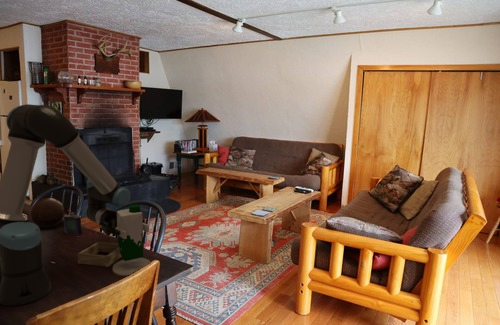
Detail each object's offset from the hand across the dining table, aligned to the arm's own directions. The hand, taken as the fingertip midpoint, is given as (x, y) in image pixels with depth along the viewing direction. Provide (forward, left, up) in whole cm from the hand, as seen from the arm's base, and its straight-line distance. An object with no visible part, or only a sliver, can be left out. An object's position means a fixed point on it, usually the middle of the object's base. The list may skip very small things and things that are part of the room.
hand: (137, 231), depth 134 cm
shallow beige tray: (+7, +20, -16) cm, 26 cm away
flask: (+29, +51, -16) cm, 61 cm away
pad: (+2, +4, -16) cm, 16 cm away
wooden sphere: (+34, +70, -16) cm, 80 cm away
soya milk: (+2, +4, -11) cm, 12 cm away
